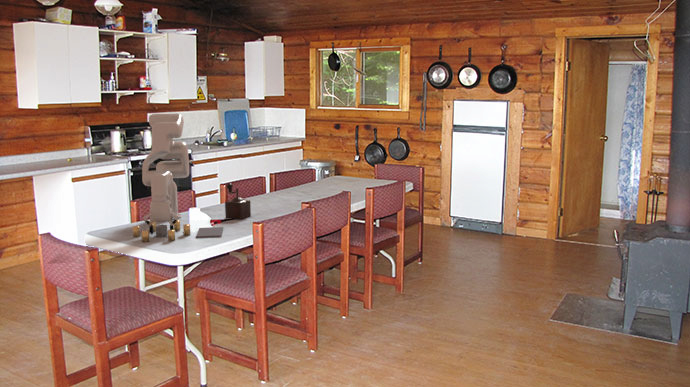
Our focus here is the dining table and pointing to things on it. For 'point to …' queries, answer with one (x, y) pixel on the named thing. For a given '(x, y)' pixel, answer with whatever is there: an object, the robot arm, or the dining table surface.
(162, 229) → the dark grey block
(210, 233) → the mat
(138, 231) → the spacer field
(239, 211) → the dark brown coffee grinder
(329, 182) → the dining table surface
